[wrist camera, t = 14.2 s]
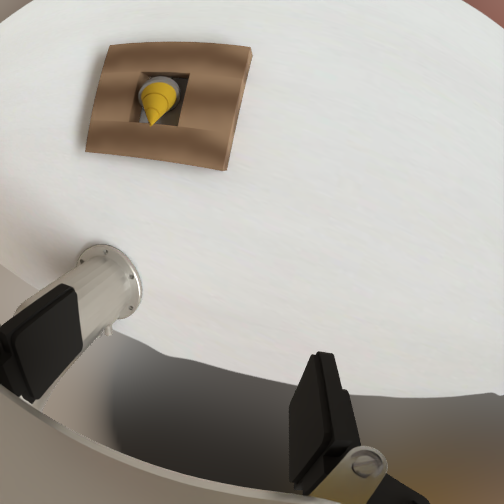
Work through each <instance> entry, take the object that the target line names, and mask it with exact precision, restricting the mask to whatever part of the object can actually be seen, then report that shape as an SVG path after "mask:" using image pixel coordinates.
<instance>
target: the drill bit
mask: <svg viewBox="0 0 504 504" xmlns="http://www.w3.org/2000/svg"><path fill="white" fill-rule="evenodd" d="M138 99H139V102H140V104H141V106H142V107H143V108H144V110H145V113H146V116H147V119H148V122H149V123H150V124H149V125H150V127H151V126H152V125H153V124H154V123H155V122H156V121H157V120H158V119H159V118H160V117H161V116H162V115H164V114H165V113H166V112H169V111H171V110H172V109H174V108H175V107H176V106H177V104H178V102H179V99H180V88H179V86H178V84H177V83H176V82H175V81H174V80H172V79H171V77H170V78H168V77H163V76H158V77H153V78H151V79H149V80H147V81H146V82H145V83H144V84H143V85H142V87H141V89H140V91H139V95H138Z"/></svg>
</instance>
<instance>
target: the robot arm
mask: <svg viewBox="0 0 504 504" xmlns="http://www.w3.org/2000/svg"><path fill="white" fill-rule="evenodd" d="M141 298H142V285H141V280H140V277H139V274H138V272H137V270H136V268H135V266H134V265H133V263H132V262H131V261H130V260H129V258H128V257H127V256H126V255H125V254H123V253H122V252H121V251H120V250H118V249H116V248H114V247H111V246H108V245H95V246H93V247H90V248H89V249H87V250H85V251H84V252H83V253H82V254H81V256H80V257H79V259H78V262H77V266H76V268H74V269H73V270H71V271H69V272H68V273H66V274H65V275H63V276H62V277H60V278H58V279H57V280H55V281H54V282H52V283H51V284H49V285H48V286H46V287H45V288H43V289H42V290H40V291H39V292H37V293H36V294H34V295H33V296H31V297H30V298H28V299H27V300H25V301H24V302H23V303H22V304H21V305H20V306H19V307H18V308H17V310H16V312H15V314H14V315H13V318H11V319H10V320H9V321H7V322H6V323H4V324H3V325H2V326H1V324H0V504H430V503H429V501H428V500H427V499H426V498H425V497H424V496H422V495H420V494H419V493H417V492H415V491H414V490H412V489H410V488H409V487H407V486H405V485H404V484H402V483H400V482H399V481H398V480H396V479H394V478H392V477H391V476H390V475H388V474H387V473H386V472H387V461H386V459H385V457H384V456H383V454H381V452H379V451H378V450H376V449H374V448H372V447H368V446H361V443H360V438H359V434H358V430H357V425H356V421H355V417H354V412H353V408H352V404H351V400H350V396H349V393H348V391H347V390H345V389H342V386H341V382H340V378H339V374H338V370H337V366H336V362H335V358H334V355H333V354H332V353H326V352H317V353H316V355H313V354H312V355H311V356H310V359H309V361H308V363H307V366H306V368H305V371H304V373H303V375H302V378H301V380H300V382H299V384H298V387H297V389H296V391H295V393H294V396H293V398H292V400H291V402H290V406H289V481H290V482H293V483H294V490H303V495H298V494H289V493H281V492H274V491H266V490H258V489H252V488H245V487H239V486H233V485H228V484H223V483H218V482H213V481H209V480H205V479H200V478H196V477H192V476H188V475H184V474H180V473H178V472H174V471H171V470H167V469H164V468H161V467H158V466H155V465H152V464H149V463H146V462H143V461H141V460H138V459H135V458H133V457H130V456H127V455H125V454H122V453H120V452H117V451H115V450H113V449H110V448H108V447H106V446H104V445H101V444H99V443H97V442H95V441H93V440H91V439H89V438H87V437H85V436H83V435H81V434H79V433H77V432H75V431H73V430H71V429H69V428H67V427H66V426H64V425H62V424H60V423H58V422H57V421H55V420H53V419H52V418H50V417H48V416H47V415H45V414H43V413H42V410H43V408H44V406H45V404H46V402H47V400H48V398H49V396H50V394H51V393H52V391H53V389H54V388H55V386H56V385H57V383H58V382H59V381H60V379H61V378H62V377H63V376H64V374H65V373H66V372H67V370H68V369H69V368H70V367H71V366H72V365H73V364H74V362H75V361H76V360H77V359H78V358H79V357H80V356H81V355H82V353H83V352H84V351H85V350H86V349H87V348H88V347H89V345H91V343H92V342H93V341H94V340H95V339H96V338H100V337H101V336H102V331H103V330H104V331H105V335H106V336H111V335H112V324H113V323H114V322H115V321H116V320H117V319H124V318H127V317H129V316H130V315H131V314H133V313H134V312H135V310H136V309H137V308H138V306H139V304H140V302H141Z"/></svg>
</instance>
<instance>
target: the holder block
mask: <svg viewBox="0 0 504 504" xmlns="http://www.w3.org/2000/svg"><path fill="white" fill-rule="evenodd" d="M252 56H253V55H252V51H251V47H246V46H237V45H228V44H216V43H200V42H144V43H129V44H117V45H110V46H109V50H108V53H107V56H106V59H105V62H104V66H103V69H102V73H101V77H100V80H99V84H98V88H97V92H96V97H95V101H94V105H93V110H92V115H91V120H90V125H89V131H88V137H87V143H86V150H85V152H92V153H103V154H112V155H121V156H130V157H138V158H145V159H153V160H160V161H167V162H173V163H180V164H186V165H192V166H198V167H204V168H209V169H215V170H220V171H225V170H227V167H228V162H229V157H230V152H231V147H232V142H233V138H234V133H235V128H236V124H237V119H238V115H239V110H240V106H241V102H242V97H243V93H244V89H245V84H246V80H247V76H248V72H249V68H250V64H251V60H252ZM158 76H163V77H168V78H170V77H171V78H184V79H189V80H188V84H187V88H186V92H185V96H184V100H183V105H182V109H181V113H180V118H179V123H178V126H172V125H162V124H153V125H152V126H151V127H150V125H149V124H150V123H139V120H140V115H141V111H142V106H141V104H140V102H139V99H138V95H139V91H140V89H141V87H142V85H143V84H144V83H145V82H146V81H147V80H149V77H158Z"/></svg>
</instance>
